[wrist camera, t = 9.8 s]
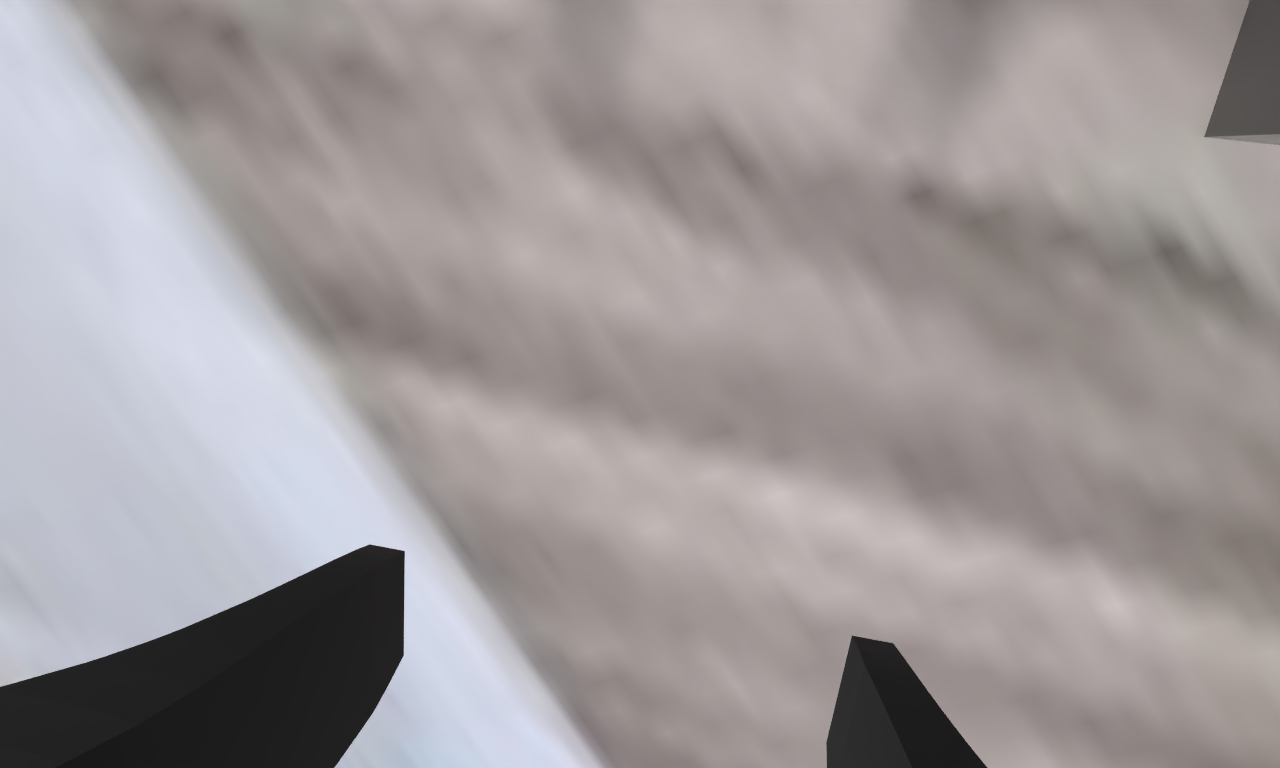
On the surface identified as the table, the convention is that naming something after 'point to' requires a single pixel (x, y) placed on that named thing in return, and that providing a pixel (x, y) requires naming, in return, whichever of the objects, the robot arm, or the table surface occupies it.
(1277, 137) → the flat slat
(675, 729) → the table surface
